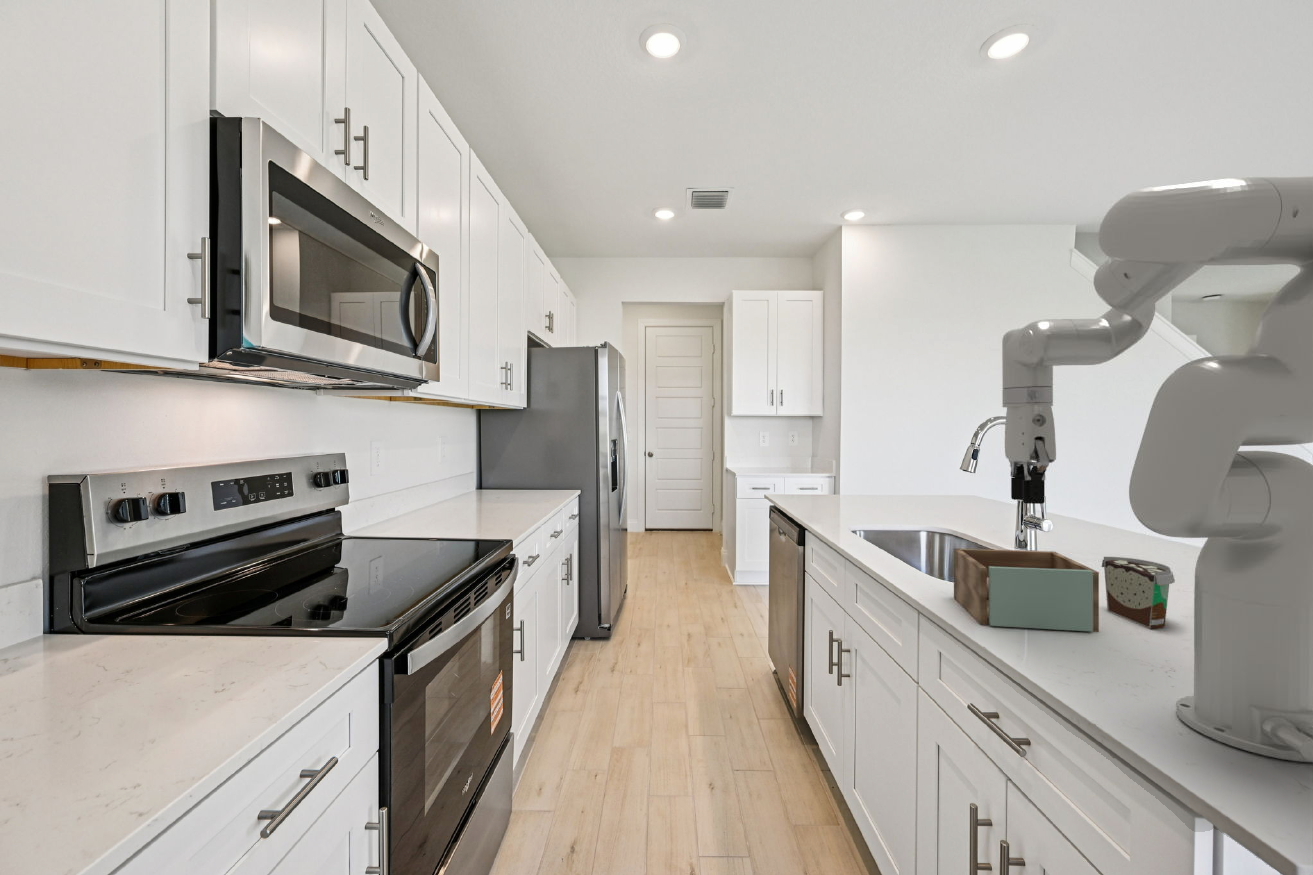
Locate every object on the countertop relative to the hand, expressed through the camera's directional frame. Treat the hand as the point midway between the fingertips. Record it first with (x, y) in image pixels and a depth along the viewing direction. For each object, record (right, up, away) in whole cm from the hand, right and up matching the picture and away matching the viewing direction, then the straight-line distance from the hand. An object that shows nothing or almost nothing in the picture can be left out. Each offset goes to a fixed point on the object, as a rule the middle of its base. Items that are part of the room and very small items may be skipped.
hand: (1027, 500), depth 101 cm
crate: (+1, -21, +3) cm, 21 cm away
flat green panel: (-1, -21, -5) cm, 22 cm away
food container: (+21, -21, -1) cm, 30 cm away
